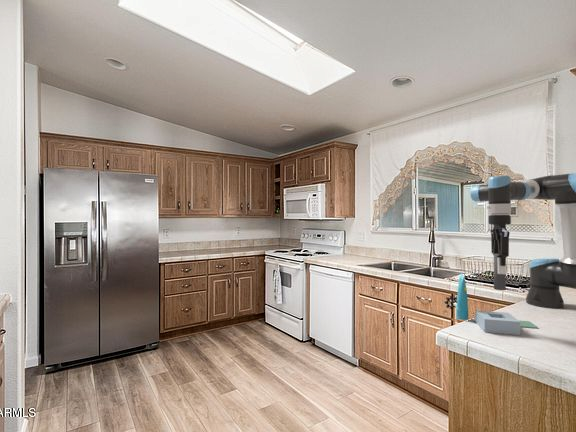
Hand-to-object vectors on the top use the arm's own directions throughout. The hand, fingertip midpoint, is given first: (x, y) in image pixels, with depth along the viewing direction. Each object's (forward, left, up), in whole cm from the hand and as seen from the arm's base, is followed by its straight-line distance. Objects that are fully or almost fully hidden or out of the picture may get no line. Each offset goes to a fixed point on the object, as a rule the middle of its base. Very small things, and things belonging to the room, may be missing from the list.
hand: (499, 272), depth 130 cm
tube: (+12, -9, -22) cm, 27 cm away
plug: (0, 0, -7) cm, 7 cm away
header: (+2, +1, -22) cm, 22 cm away
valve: (+11, -18, -22) cm, 31 cm away
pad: (-10, -7, -22) cm, 25 cm away
